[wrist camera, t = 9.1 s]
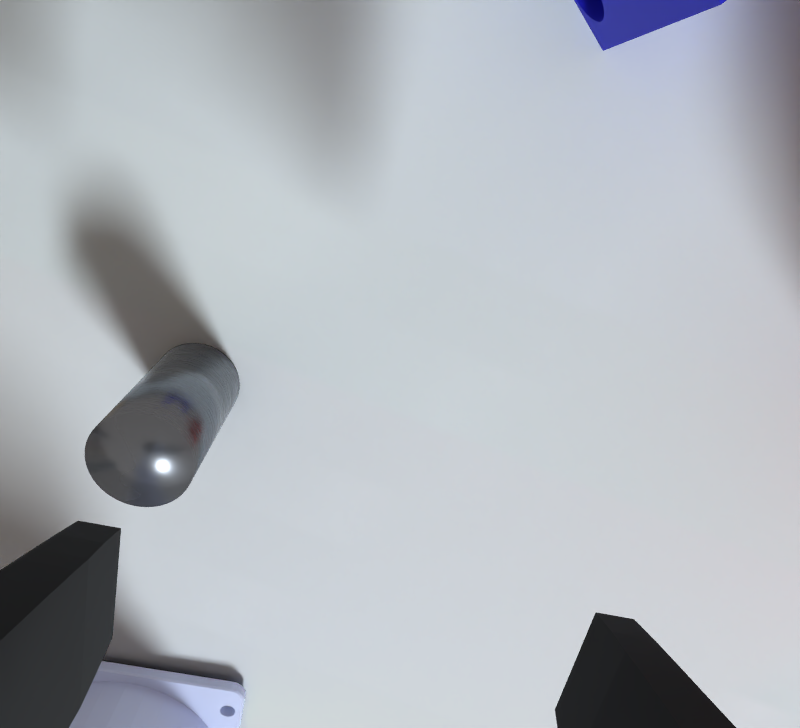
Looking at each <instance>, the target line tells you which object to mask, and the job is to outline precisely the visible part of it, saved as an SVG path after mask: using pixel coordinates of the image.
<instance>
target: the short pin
mask: <svg viewBox="0 0 800 728" xmlns="http://www.w3.org/2000/svg"><path fill="white" fill-rule="evenodd" d="M239 389H240V382H239V377H238V373H237V371H236V369H235V367H234V365H233V364H232V362H231V361H230V360H229V359H228V358H227V357H226V356H225V355H224V354H223V353H221V352H220V351H218V350H217V349H215V348H213V347H210V346H207V345H204V344H197V343H189V344H183V345H180V346H177V347H175V348H173V349H172V350H170V351H169V352H168V353H166V354H165V355H164V356H163V357H162V358H161V360H160V361H159V362H158V363H157V364H156V365H155V366H154V367H153V368H152V369H151V370H150V371H149V372H148V373H147V374H146V375H145V376H144V377H143V378H142V379H141V380H140V381H139V382H138V384H137V385H136V386H135V387H134V388H133V389H132V390H131V391H130V392H129V393H128V394H127V395H126V396H125V397H124V398H123V399H122V400H121V401H120V402H119V403H118V404H117V405H116V406H115V407H114V409H113V410H112V411H111V412H110V413H109V414H108V415H107V416H106V417H105V418H104V419H103V420H102V421H101V422H100V423H99V424H98V425H97V426H96V427H95V428H94V430H93V431H92V432H91V434H90V435H89V437H88V440H87V442H86V446H85V461H86V465H87V468H88V470H89V473H90V475H91V476H92V478H93V480H94V481H95V482H96V484H97V485H98V486H99V487H100V488H101V489H102V490H103V491H105V492H106V493H107V494H109V495H110V496H112V497H113V498H115V499H117V500H119V501H121V502H124V503H126V504H130V505H134V506H140V507H154V506H160V505H164V504H167V503H169V502H172V501H173V500H175V499H177V498H178V497H179V496H181V495H182V494H183V493H184V492H185V491H186V489H187V488H188V486H189V484H190V483H191V481H192V479H193V477H194V475H195V474H196V472H197V470H198V468H199V466H200V465H201V463H202V461H203V459H204V457H205V456H206V454H207V452H208V450H209V448H210V447H211V445H212V443H213V441H214V439H215V438H216V436H217V434H218V432H219V430H220V428H221V427H222V425H223V423H224V421H225V419H226V418H227V416H228V414H229V412H230V410H231V409H232V407H233V405H234V403H235V401H236V399H237V397H238V394H239Z"/></svg>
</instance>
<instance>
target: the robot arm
mask: <svg viewBox="0 0 800 728" xmlns="http://www.w3.org/2000/svg"><path fill="white" fill-rule="evenodd" d="M120 534H121V528H116V527H110V526H105V525H99V524H93V523H88V522H82V521H77V522H75V523H74V524H72V525H70V526H69V527H67V528H66V529H64V530H62V531H61V532H59V533H57V534H56V535H54V536H53V537H51V538H50V539H48V540H46V541H45V542H43V543H42V544H40V545H39V546H37V547H35V548H34V549H32V550H31V551H29V552H28V553H26V554H25V555H23V556H22V557H20V558H18V559H17V560H15V561H14V562H12V563H11V564H9V565H8V566H6V567H4V568H3V569H1V570H0V728H240V724H241V718H242V713H243V707H244V702H245V696H246V690H245V689H244V687H243V686H242V685H240V684H239V683H236V682H232V681H226V680H219V679H213V678H207V677H200V676H194V675H188V674H182V673H175V672H169V671H163V670H156V669H150V668H144V667H137V666H131V665H125V664H119V663H112V662H106V661H102V660H103V657H104V655H105V653H106V651H107V648H108V646H109V644H110V642H111V639H112V635H113V622H114V609H115V597H116V584H117V572H118V559H119V547H120ZM228 706H231V707H228ZM555 713H556V720H557V727H558V728H736V727H735V726H734V725H733V724H732V723H731V722H730V721H729V720H728V718H727V717H726V716H725V715H724V714H723V713H722V712H721V711H720V710H719V709H718V708H717V707H716V706H715V705H714V703H713V702H712V701H711V700H710V699H709V698H708V697H707V696H706V695H705V694H704V693H703V692H702V691H701V689H700V688H699V687H698V686H697V685H696V684H695V683H694V682H693V681H692V680H691V679H690V678H689V677H688V675H687V674H686V673H685V672H684V671H683V670H682V669H681V668H680V667H679V666H678V665H677V664H676V662H675V661H674V660H673V659H672V658H671V657H670V656H669V655H668V654H667V653H666V652H665V651H664V650H663V649H662V648H661V646H660V645H659V644H658V643H657V642H656V641H655V640H654V639H653V638H652V637H651V636H650V635H649V634H648V633H647V632H646V631H645V630H644V629H643V628H642V627H641V626H640V625H639V624H638V623H637V622H636V621H635V620H634V619H630V618H624V617H618V616H613V615H607V614H601V613H595V616H594V618H593V620H592V623H591V625H590V627H589V630H588V632H587V635H586V637H585V639H584V642H583V644H582V647H581V649H580V651H579V654H578V656H577V658H576V661H575V663H574V666H573V668H572V670H571V673H570V675H569V677H568V680H567V682H566V685H565V687H564V689H563V692H562V694H561V697H560V699H559V701H558V704H557V706H556V708H555Z"/></svg>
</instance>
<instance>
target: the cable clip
mask: <svg viewBox="0 0 800 728" xmlns="http://www.w3.org/2000/svg"><path fill="white" fill-rule="evenodd" d="M574 1H575V2H576V4H577V6H578V8H579V9H580V11H581V13H582V15H583V16H584V18H585V20H586V22H587V23H588V25H589V27H590V29H591V30H592V32H593V34H594V36H595V37H596V39H597V41H598V43H599V44H600V46H601V48H602V50H606V49H609V48H611V47H614V46H616V45H619V44H621V43H624V42H626V41H629V40H632V39H634V38H637V37H639V36H642V35H644V34H647V33H649V32H652V31H654V30H657V29H660V28H662V27H665V26H667V25H670V24H672V23H675V22H677V21H680V20H683V19H685V18H688V17H690V16H693V15H695V14H698V13H700V12H703V11H706V10H708V9H711V8H713V7H716V6H718V5H721V4H722V3H724V2H725V1H726V0H574Z"/></svg>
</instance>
